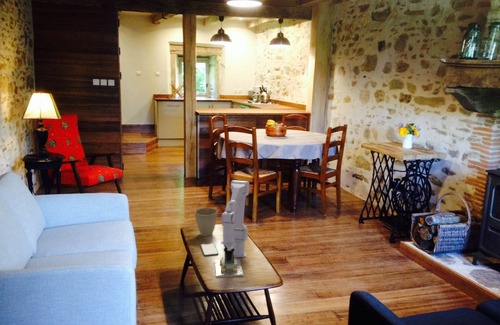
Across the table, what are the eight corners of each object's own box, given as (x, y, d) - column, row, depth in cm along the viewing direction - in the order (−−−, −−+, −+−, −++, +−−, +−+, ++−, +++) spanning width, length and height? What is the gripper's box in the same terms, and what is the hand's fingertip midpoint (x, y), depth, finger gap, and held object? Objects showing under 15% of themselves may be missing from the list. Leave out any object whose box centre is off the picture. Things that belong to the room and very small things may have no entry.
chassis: (215, 262, 234) (214, 254, 233) (239, 261, 236) (239, 253, 235) (216, 277, 216) (216, 269, 216) (243, 276, 218) (243, 268, 217)
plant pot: (193, 231, 280) (193, 208, 277) (215, 229, 284) (215, 207, 281) (196, 239, 266) (196, 215, 263) (219, 237, 270) (219, 214, 267)
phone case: (219, 256, 244) (214, 245, 259) (219, 253, 243) (214, 242, 258) (203, 257, 241) (199, 246, 256) (203, 255, 241) (199, 244, 256)
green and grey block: (221, 259, 230) (221, 250, 229) (235, 259, 231) (235, 249, 230) (222, 268, 220) (222, 258, 219) (237, 268, 221) (237, 257, 219)
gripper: (220, 229, 229) (220, 252, 231) (221, 239, 214) (221, 263, 217) (233, 228, 229) (233, 251, 232) (235, 238, 215) (235, 263, 218)
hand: (228, 257), depth 225 cm, fingers open, 7 cm apart
